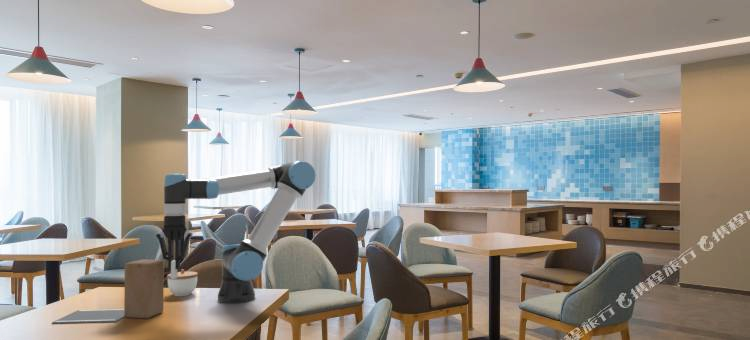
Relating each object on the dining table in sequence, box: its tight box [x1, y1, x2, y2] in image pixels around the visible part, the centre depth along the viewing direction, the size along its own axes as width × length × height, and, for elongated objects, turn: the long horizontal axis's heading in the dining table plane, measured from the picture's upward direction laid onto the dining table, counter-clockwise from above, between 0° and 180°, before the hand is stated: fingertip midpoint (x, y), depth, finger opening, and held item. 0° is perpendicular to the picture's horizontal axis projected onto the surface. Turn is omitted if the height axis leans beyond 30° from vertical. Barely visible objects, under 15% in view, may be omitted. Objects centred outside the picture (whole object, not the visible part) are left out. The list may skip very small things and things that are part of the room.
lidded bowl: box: [166, 269, 199, 297], centre depth 220 cm, size 13×13×11 cm
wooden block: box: [123, 258, 165, 319], centre depth 185 cm, size 10×10×20 cm
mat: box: [51, 308, 126, 325], centre depth 183 cm, size 22×17×1 cm
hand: (174, 278), depth 186 cm, fingers closed
